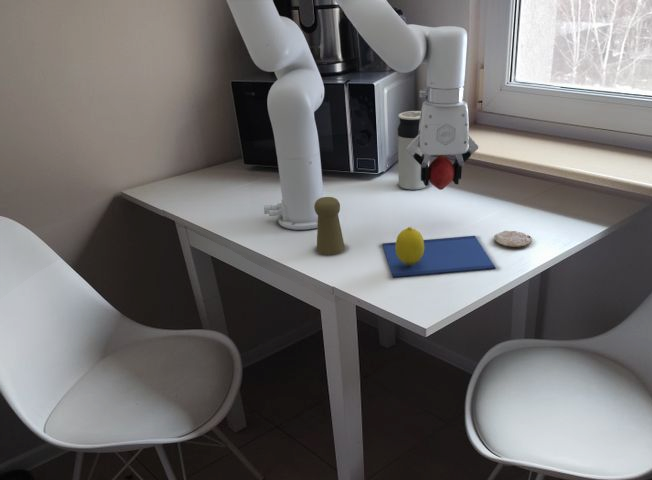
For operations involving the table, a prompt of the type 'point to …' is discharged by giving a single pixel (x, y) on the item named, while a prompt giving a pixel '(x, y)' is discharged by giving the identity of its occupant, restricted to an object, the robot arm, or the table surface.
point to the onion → (441, 172)
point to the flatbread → (513, 238)
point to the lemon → (409, 246)
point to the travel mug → (406, 162)
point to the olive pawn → (328, 227)
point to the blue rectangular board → (441, 257)
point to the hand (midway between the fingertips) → (440, 182)
